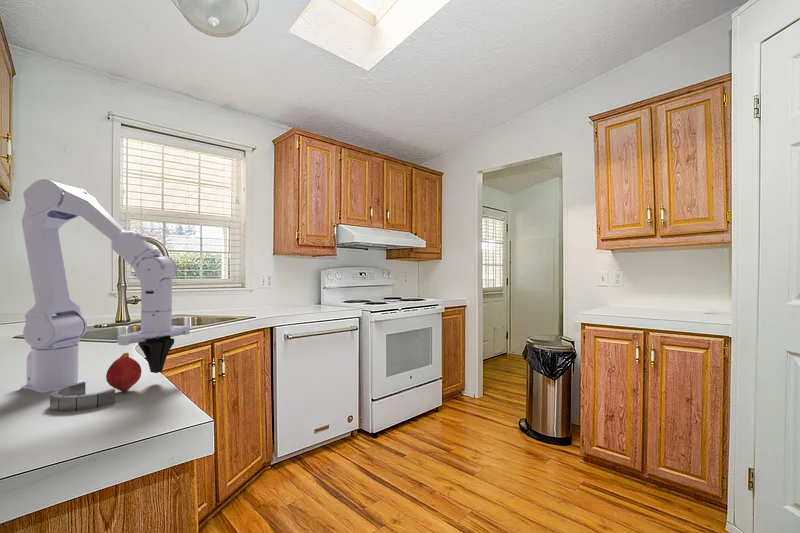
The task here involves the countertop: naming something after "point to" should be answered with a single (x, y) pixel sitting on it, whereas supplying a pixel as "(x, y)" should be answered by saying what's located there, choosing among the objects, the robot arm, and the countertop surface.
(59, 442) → the countertop surface
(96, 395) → the split collar
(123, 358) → the onion
